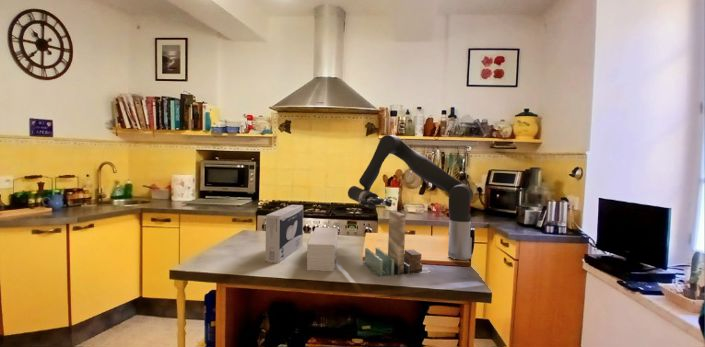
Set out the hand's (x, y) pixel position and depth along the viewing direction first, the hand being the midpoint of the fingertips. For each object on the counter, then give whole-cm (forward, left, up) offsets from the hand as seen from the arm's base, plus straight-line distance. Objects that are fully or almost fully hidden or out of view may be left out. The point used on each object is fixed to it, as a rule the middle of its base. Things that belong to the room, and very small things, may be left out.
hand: (381, 204), depth 162 cm
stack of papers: (+24, -6, -25) cm, 35 cm away
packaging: (+39, -19, -25) cm, 50 cm away
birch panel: (0, +17, -23) cm, 28 cm away
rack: (-1, +16, -24) cm, 29 cm away
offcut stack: (-7, +17, -23) cm, 29 cm away
